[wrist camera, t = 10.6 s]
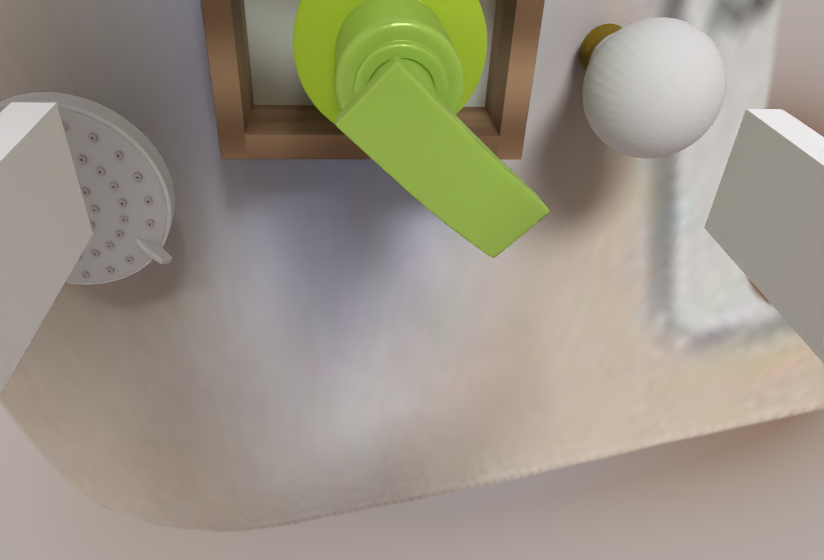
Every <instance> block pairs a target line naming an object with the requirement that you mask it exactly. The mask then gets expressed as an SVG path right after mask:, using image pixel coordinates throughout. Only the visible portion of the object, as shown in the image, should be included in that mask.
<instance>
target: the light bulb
mask: <svg viewBox="0 0 824 560" xmlns="http://www.w3.org/2000/svg"><path fill="white" fill-rule="evenodd" d="M580 61H581V64H582V66H583V67H584V69H585V70H586V73H585V77H584V81H583V88H582V101H583V107H584V112H585V115H586V118H587V120H588V123H589V124H590V126H591V128H592V130H593V131H594V133H595V134H596V135H597V136H598V137H599V138H600V139H601V140H602V141H603V142H604V143H605V144H606V145H608V146H609V147H610V148H612V149H614V150H616V151H618V152H620V153H622V154H625V155H628V156H632V157H638V158H658V157H663V156H668V155H671V154H674V153H676V152H679V151H681V150H683V149H685V148H687V147H688V146H690V145H691V144H693V143H694V142H696V141H697V140H698V139H699V138H700V137H701V136H702V135H703V134H704V133H705V132H706V131H707V130H708V129H709V128H710V126H711V125H712V124H713V122H714V121H715V119H716V117H717V116H718V114H719V111H720V109H721V107H722V104H723V101H724V97H725V91H726V71H725V66H724V62H723V59H722V57H721V54H720V52H719V50H718V48H717V47H716V46H715V44H714V43H713V41H712V40H711V39H710V38H709V37H708V36H707V35H706V34H705V33H704V32H703V31H702V30H700V29H698V28H697V27H695V26H694V25H692V24H690V23H687V22H684V21H682V20H679V19H673V18H666V17H660V18H649V19H643V20H640V21H637V22H634V23H631V24H629V25H627V26H625V27H623V28H622V27H620V26H618V25H615V24H604V25H601V26H598V27H596V28H595V29H593V30H592V31H591V32H590V33H589V34H588V35H587V36H586V37H585V39H584V41H583V43H582V45H581V48H580Z"/></svg>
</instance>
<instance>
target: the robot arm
mask: <svg viewBox="0 0 824 560" xmlns="http://www.w3.org/2000/svg"><path fill="white" fill-rule="evenodd" d="M704 228H705V229H706V230H707V231H708V232H709V234H710V235H711V236H712V237H713V238H714V239H715V240H716V242H717V243H718V244H719V245H720V246H721V247H722V248H723V250H724V251H725V252H726V253H727V254H728V255H729V256H730V257H731V259H732V260H733V261H734V262H735V263H736V264H737V265H738V267H739V268H740V269H741V270H742V271H743V272H744V273H745V274H746V276H747V277H748V278H749V279H750V280H751V281H752V282H753V284H754V285H755V286H756V287H757V288H758V289H759V290H760V291H761V293H762V294H763V295H764V296H765V297H766V298H767V299H768V301H769V302H770V303H771V304H772V305H773V306H774V307H775V309H776V310H777V311H778V312H779V313H780V314H781V315H782V316H783V318H784V319H785V320H786V321H787V322H788V323H789V324H790V326H791V327H792V328H793V329H794V330H795V331H796V332H797V334H798V335H799V336H800V337H801V338H802V339H803V340H804V341H805V343H806V344H807V345H808V346H809V347H810V348H811V349H812V351H813V352H814V353H815V354H816V355H817V356H818V357H819V359H820V360H821V361H822V362H823V363H824V137H822V136H821V135H819V134H818V133H816V132H815V131H814V130H812V129H811V128H809V127H808V126H806V125H804V124H803V123H802V122H800V121H799V120H797V119H796V118H794V117H793V116H791V115H790V114H788V113H787V112H785V111H784V110H781V109H746V111H745V114H744V117H743V120H742V123H741V125H740V128H739V131H738V134H737V137H736V140H735V142H734V145H733V148H732V151H731V154H730V157H729V159H728V162H727V165H726V168H725V171H724V174H723V176H722V179H721V182H720V185H719V188H718V191H717V193H716V196H715V199H714V202H713V205H712V208H711V210H710V213H709V216H708V219H707V222H706V225H705V227H704ZM92 235H93V232H92V228H91V225H90V221H89V218H88V214H87V211H86V207H85V203H84V200H83V196H82V193H81V189H80V185H79V182H78V178H77V175H76V171H75V167H74V164H73V160H72V157H71V153H70V149H69V146H68V142H67V139H66V135H65V131H64V128H63V124H62V121H61V117H60V113H59V110H58V106H57V103H36V102H11V103H10V104H9V105H8V106H7V107H6V108H4V109H3V110H2V111H1V112H0V395H1V393H2V392H3V390H4V388H5V386H6V385H7V383H8V381H9V379H10V378H11V376H12V374H13V372H14V371H15V369H16V367H17V365H18V364H19V362H20V360H21V358H22V357H23V355H24V353H25V352H26V350H27V348H28V346H29V345H30V343H31V341H32V339H33V338H34V336H35V334H36V332H37V331H38V329H39V327H40V325H41V324H42V322H43V320H44V318H45V317H46V315H47V313H48V312H49V310H50V308H51V306H52V305H53V303H54V301H55V299H56V298H57V296H58V294H59V292H60V291H61V289H62V287H63V285H64V284H65V282H66V280H67V278H68V277H69V275H70V273H71V272H72V270H73V268H74V266H75V265H76V263H77V261H78V259H79V258H80V256H81V254H82V252H83V251H84V249H85V247H86V245H87V244H88V242H89V240H90V238H91V237H92Z"/></svg>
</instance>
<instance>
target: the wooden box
mask: <svg viewBox="0 0 824 560" xmlns="http://www.w3.org/2000/svg"><path fill="white" fill-rule="evenodd" d="M299 1H300V0H201V7H202V14H203V22H204V30H205V37H206V45H207V53H208V60H209V68H210V75H211V83H212V91H213V98H214V106H215V114H216V121H217V129H218V136H219V144H220V152H221V159H371V158H370V157H369V156H368V155H367V154H366V153H365V152H364V151H363V150H362V149H360V148H359V147H358V146H357V145H356V144H355V143H354V142H353V141H352V140H351V139H350V138H349V137H347V136H346V135H345V134H344V133H343V132H342V131H341V130H340V129H339V128H338V127H337V126H336V125H335V124H334V123H333V122H331V121H330V120H329V119H328V118H326V117H325V116H324V115H323V114H322V113H321V112H320V111H319V110H318V109H317V107H316V106H315V105H314V104H313V102H312V101H311V99H310V98H309V96H308V95H307V93H306V91H305V90H304V88H303V86H302V83H301V81H300V78H299V76H298V73H297V69H296V65H295V61H294V54H293V30H294V23H295V18H296V14H297V9H298V5H299ZM544 1H545V0H479V3H480V5H481V8H482V11H483V14H484V18H485V23H486V31H487V51H486V59H485V64H484V68H483V71H482V74H481V77H480V80H479V82H478V84H477V86H476V88H475V90H474V92H473V94H472V95H471V97H470V98H469V100H468V101H467V103H466V104H465V105H464V106H463V108H462V109H461V110H460V111H459V112H458V113H457V114H456V116H457V117H458V118H459V119H460V120H461V121H462V122H463V123H464V124H465V125H466V126H467V127H468V128H469V129H470V130H471V131H472V132H473V133H474V134H475V135H476V136H477V137H478V138H479V139H480V140H481V141H482V142H483V143H484V144H485V145H486V146H487V147H488V148H489V149H490V150H491V151H492V152H493V153H494V154H495V155H496V156H497V157H498V158H499V159H521V156H522V149H523V142H524V136H525V129H526V122H527V115H528V109H529V102H530V95H531V88H532V82H533V75H534V68H535V61H536V55H537V48H538V41H539V34H540V28H541V21H542V14H543V7H544Z"/></svg>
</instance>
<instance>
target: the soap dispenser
mask: <svg viewBox="0 0 824 560" xmlns="http://www.w3.org/2000/svg"><path fill="white" fill-rule="evenodd" d="M486 51H487V31H486V23H485V18H484V14H483V11H482V8H481V5H480V3H479V0H300V1H299V5H298V9H297V14H296V18H295V23H294V30H293V54H294V61H295V65H296V69H297V73H298V76H299V78H300V81H301V83H302V86H303V88H304V90H305V91H306V93H307V95H308V96H309V98H310V99H311V101H312V102H313V104H314V105H315V106H316V107H317V109H318V110H319V111H320V112H321V113H322V114H323V115H324V116H325V117H326V118H328V119H329V120H330V121H331V122H333V123H334V124H335V125H336V126H337V127H338V128H339V129H340V130H341V131H342V132H343V133H344V134H345V135H346V136H347V137H349V138H350V139H351V140H352V141H353V142H354V143H355V144H356V145H357V146H358V147H359V148H360V149H362V150H363V151H364V152H365V153H366V154H367V155H368V156H369V157H370V158H371V159H372V160H374V161H375V162H376V163H377V164H378V165H379V166H380V167H381V168H382V169H383V170H385V171H386V172H387V173H388V174H389V175H390V176H391V177H392V178H393V179H394V180H396V181H397V182H398V183H399V184H400V185H401V186H402V187H403V188H404V189H406V190H407V191H408V192H409V193H410V194H411V195H412V196H413V197H415V198H416V199H417V200H418V201H419V202H420V203H422V204H423V205H424V206H425V207H426V208H427V209H429V210H430V211H431V212H432V213H433V214H434V215H436V216H437V217H438V218H439V219H441V220H442V221H443V222H444V223H445V224H447V225H448V226H449V227H451V228H452V229H453V230H454V231H456V232H457V233H458V234H460V235H461V236H462V237H464V238H465V239H466V240H468V241H469V242H470V243H472V244H473V245H475V246H476V247H477V248H479V249H480V250H482V251H483V252H484V253H486V254H487V255H489V256H491V257H496V256H497V255H499V254H500V253H501V252H502V251H504V250H505V249H506V248H507V247H508V246H510V245H511V244H512V243H513V242H514V241H516V240H517V239H518V238H519V237H521V236H522V235H523V234H524V233H525V232H526V231H528V230H529V229H530V228H531V227H532V226H534V225H535V224H536V223H537V222H538V221H540V220H541V219H542V218H543V217H544V216H545V215H547V214H548V213H549V209H548V208H547V207H546V205H545V204H544V203H543V202H542V200H541V199H540V198H539V197H538V195H537V194H536V193H535V192H534V191H533V190H532V189H531V188H530V187H529V186H527V185H526V184H525V183H524V182H523V181H522V180H521V179H520V178H519V177H518V176H517V175H516V174H515V173H513V172H512V171H511V170H510V169H509V168H508V167H507V166H506V165H505V164H504V163H503V162H502V161H501V160H500V159H499V158H498V157H497V156H496V155H495V154H494V153H493V152H492V151H491V150H490V149H489V148H488V147H487V146H486V145H485V144H484V143H483V142H482V141H481V140H480V139H479V138H478V137H477V136H476V135H475V134H474V133H473V132H472V131H471V130H470V129H469V128H468V127H467V126H466V125H465V124H464V123H463V122H462V121H461V120H460V119H459V118H458V117H457V116H456V114H457V113H458V112H459V111H460V110H461V109H462V108H463V106H464V105H465V104H466V103H467V101H468V100H469V98H470V97H471V95H472V94H473V92H474V90H475V88H476V86H477V84H478V82H479V80H480V77H481V74H482V71H483V68H484V64H485V59H486Z"/></svg>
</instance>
